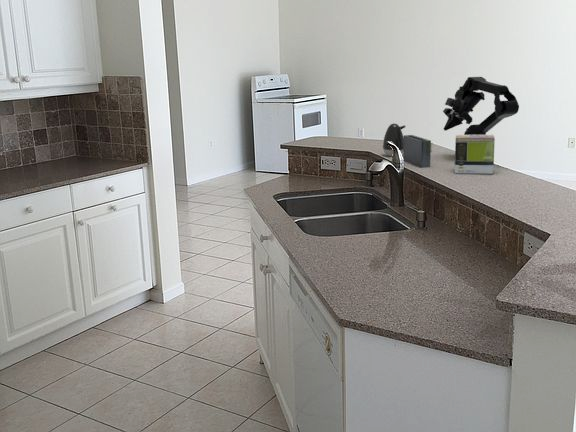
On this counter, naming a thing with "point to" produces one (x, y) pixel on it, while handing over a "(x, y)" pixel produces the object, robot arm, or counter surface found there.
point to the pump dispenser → (393, 138)
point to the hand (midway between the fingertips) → (444, 129)
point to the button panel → (417, 150)
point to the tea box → (474, 154)
